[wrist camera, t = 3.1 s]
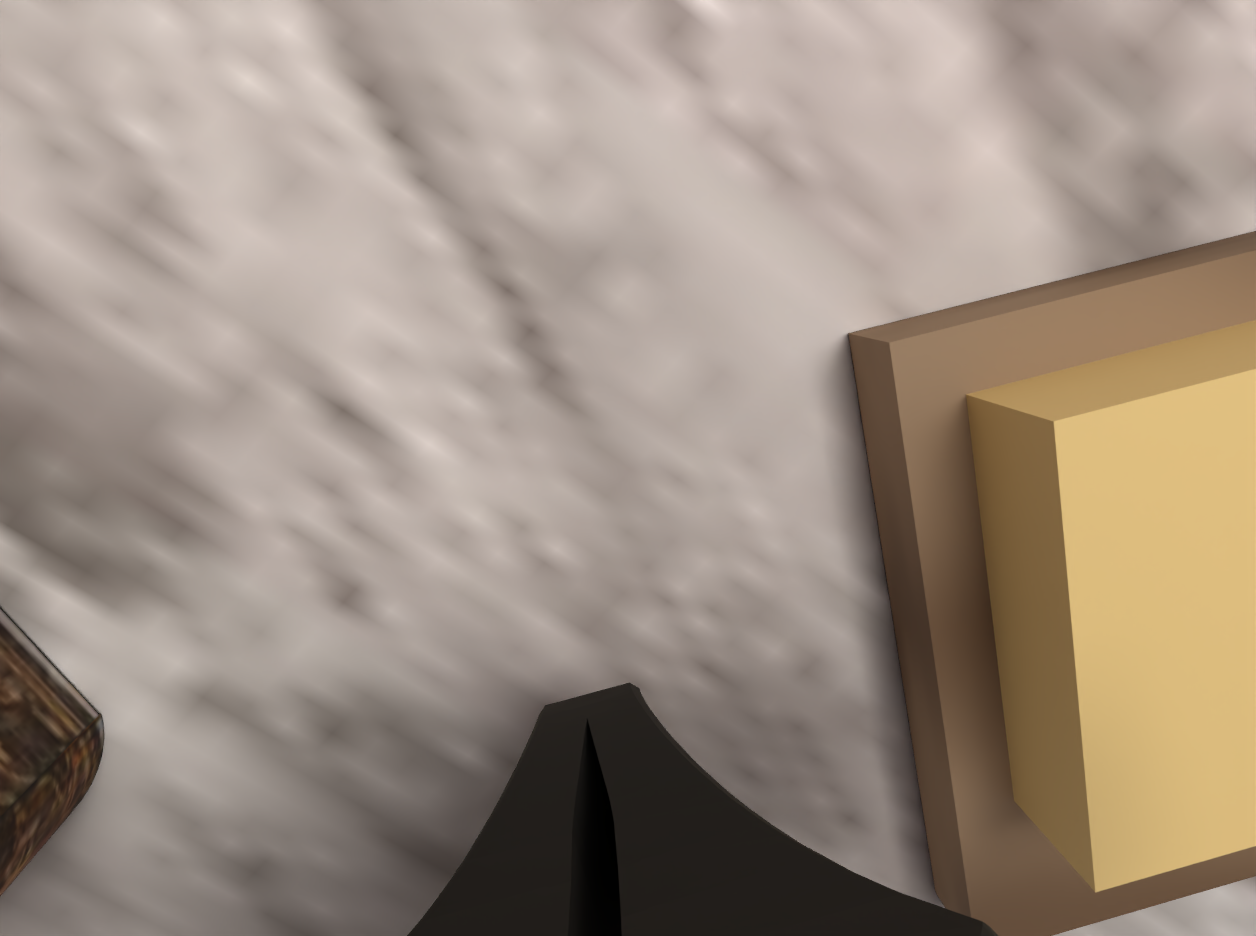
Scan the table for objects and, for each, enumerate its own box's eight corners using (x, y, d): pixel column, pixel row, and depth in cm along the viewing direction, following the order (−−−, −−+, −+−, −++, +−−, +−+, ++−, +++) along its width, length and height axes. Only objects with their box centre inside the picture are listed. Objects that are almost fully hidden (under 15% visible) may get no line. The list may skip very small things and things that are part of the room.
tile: (1349, 706, 13) (1484, 779, 12) (1014, 800, 13) (1095, 892, 11) (1356, 294, 12) (1518, 300, 10) (966, 394, 11) (1054, 422, 9)
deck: (1319, 782, 16) (1398, 834, 14) (935, 891, 15) (976, 957, 14) (1322, 214, 13) (1422, 207, 11) (848, 333, 12) (888, 342, 11)
